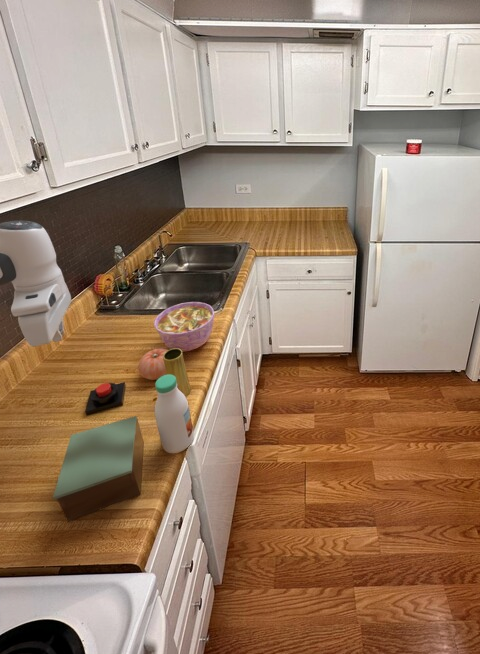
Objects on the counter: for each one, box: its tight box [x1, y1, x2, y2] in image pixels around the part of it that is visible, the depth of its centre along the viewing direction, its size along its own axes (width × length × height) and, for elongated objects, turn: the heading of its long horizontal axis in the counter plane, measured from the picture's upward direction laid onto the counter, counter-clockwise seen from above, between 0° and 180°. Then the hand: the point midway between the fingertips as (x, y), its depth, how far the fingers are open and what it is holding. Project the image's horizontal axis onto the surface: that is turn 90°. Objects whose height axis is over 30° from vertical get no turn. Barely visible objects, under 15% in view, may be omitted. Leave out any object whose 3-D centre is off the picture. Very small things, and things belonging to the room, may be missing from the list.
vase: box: [163, 348, 192, 397], centre depth 98 cm, size 6×6×14 cm
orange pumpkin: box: [137, 347, 169, 381], centre depth 106 cm, size 11×11×8 cm
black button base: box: [84, 381, 127, 416], centre depth 97 cm, size 9×8×4 cm
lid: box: [52, 415, 138, 501], centre depth 73 cm, size 15×14×1 cm
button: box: [95, 382, 112, 397], centre depth 96 cm, size 4×4×2 cm
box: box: [56, 418, 145, 523], centre depth 75 cm, size 14×14×9 cm
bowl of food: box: [153, 301, 215, 352], centre depth 119 cm, size 20×20×12 cm
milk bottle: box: [154, 374, 195, 454], centre depth 82 cm, size 8×8×20 cm
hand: (59, 338), depth 82 cm, fingers closed
